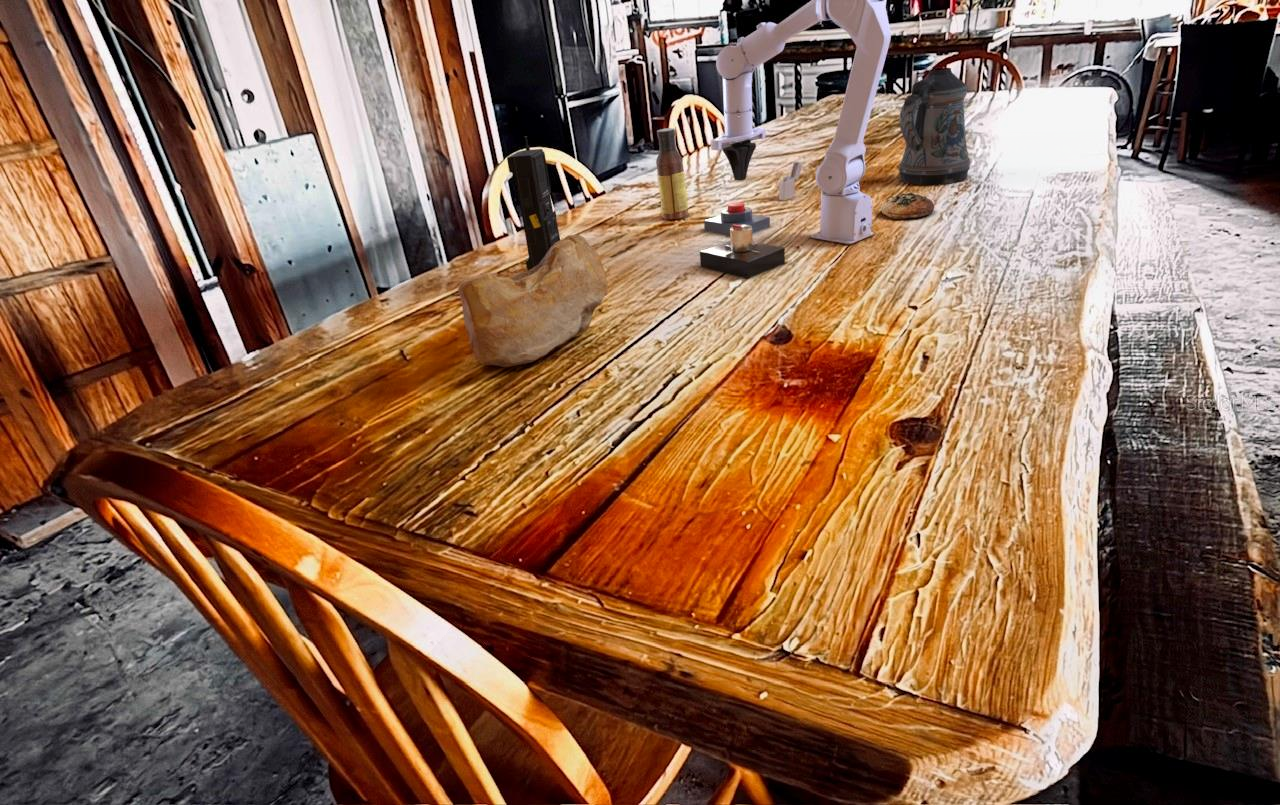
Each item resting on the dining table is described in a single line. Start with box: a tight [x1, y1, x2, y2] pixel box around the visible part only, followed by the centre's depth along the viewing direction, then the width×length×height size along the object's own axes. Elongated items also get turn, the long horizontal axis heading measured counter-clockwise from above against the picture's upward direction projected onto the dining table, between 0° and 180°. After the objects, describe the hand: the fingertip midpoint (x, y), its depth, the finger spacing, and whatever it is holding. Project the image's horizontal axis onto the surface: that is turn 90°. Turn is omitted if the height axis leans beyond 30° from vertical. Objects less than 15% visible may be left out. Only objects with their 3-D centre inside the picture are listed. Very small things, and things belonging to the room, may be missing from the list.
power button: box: [727, 201, 746, 213], centre depth 151 cm, size 4×4×2 cm
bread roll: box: [880, 192, 935, 220], centre depth 150 cm, size 11×11×5 cm
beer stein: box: [898, 67, 971, 186], centre depth 170 cm, size 16×19×25 cm
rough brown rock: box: [457, 234, 609, 368], centre depth 105 cm, size 23×17×15 cm
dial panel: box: [699, 240, 786, 279], centre depth 130 cm, size 12×10×3 cm
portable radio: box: [506, 135, 561, 271], centre depth 134 cm, size 8×6×25 cm
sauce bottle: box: [655, 127, 689, 221], centre depth 163 cm, size 7×6×20 cm
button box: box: [703, 206, 771, 236], centre depth 152 cm, size 11×9×4 cm
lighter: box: [778, 161, 803, 202], centre depth 172 cm, size 7×2×8 cm, turn 130°
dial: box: [729, 224, 754, 252], centre depth 129 cm, size 4×4×4 cm
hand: (740, 179), depth 149 cm, fingers closed
